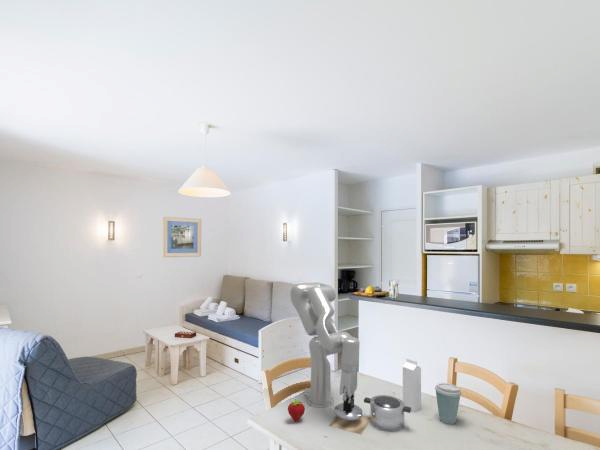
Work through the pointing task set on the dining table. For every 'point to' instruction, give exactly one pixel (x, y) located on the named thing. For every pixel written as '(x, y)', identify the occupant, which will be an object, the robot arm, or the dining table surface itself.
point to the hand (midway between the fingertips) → (348, 408)
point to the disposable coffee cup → (447, 402)
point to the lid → (353, 415)
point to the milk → (412, 385)
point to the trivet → (351, 424)
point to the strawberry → (296, 410)
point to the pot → (387, 412)
